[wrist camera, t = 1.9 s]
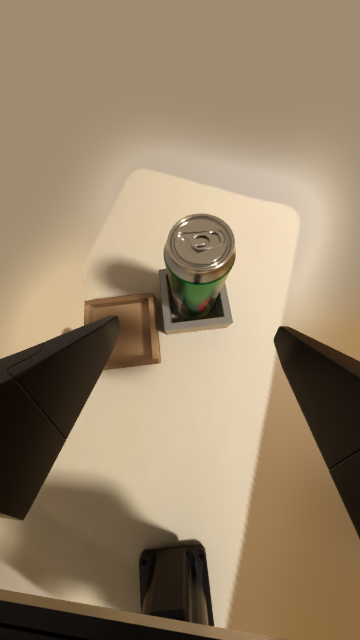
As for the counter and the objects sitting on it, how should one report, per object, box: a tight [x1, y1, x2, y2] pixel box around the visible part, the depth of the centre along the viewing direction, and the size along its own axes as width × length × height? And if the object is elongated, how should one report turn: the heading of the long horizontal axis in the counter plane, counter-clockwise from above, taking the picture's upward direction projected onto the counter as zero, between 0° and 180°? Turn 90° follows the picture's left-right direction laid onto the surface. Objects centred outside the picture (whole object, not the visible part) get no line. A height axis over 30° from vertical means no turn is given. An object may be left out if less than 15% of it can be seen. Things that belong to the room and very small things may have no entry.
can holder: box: [159, 269, 233, 335], centre depth 20 cm, size 8×8×3 cm
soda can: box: [164, 214, 236, 320], centre depth 16 cm, size 5×5×12 cm
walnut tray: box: [84, 293, 161, 370], centre depth 20 cm, size 9×9×2 cm
